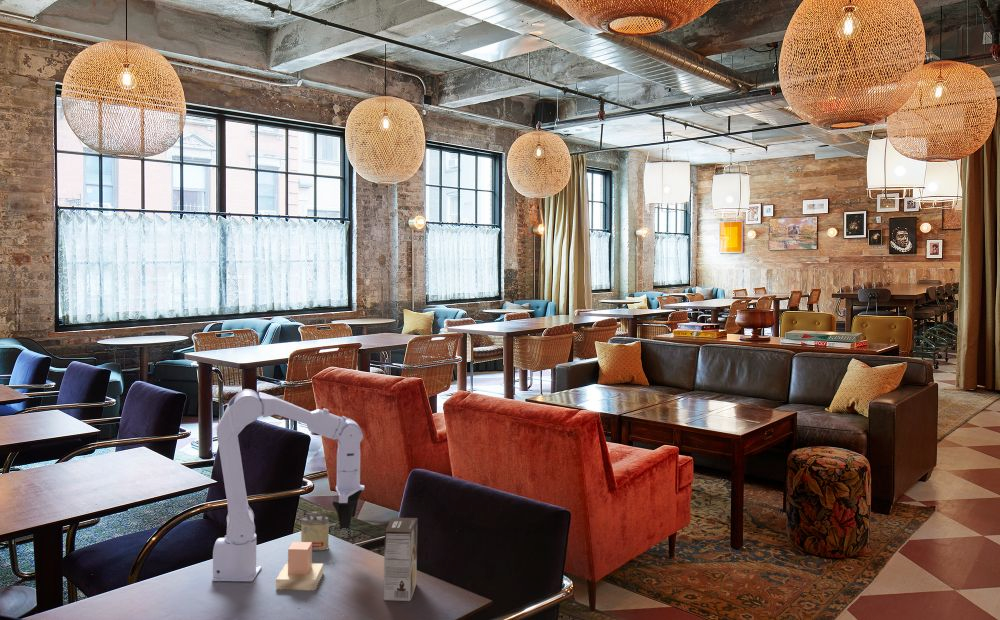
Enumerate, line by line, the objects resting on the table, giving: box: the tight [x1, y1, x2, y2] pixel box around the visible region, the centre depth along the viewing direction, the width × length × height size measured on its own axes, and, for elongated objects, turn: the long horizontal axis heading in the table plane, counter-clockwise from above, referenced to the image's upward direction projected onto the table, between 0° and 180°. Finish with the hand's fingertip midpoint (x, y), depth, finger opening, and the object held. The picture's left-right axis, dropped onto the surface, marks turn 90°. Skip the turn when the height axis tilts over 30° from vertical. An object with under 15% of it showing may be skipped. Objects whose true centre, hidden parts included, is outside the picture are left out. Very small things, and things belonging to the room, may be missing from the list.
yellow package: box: [300, 509, 330, 551], centre depth 193 cm, size 7×4×10 cm, turn 97°
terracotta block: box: [287, 541, 313, 575], centre depth 173 cm, size 4×4×6 cm
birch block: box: [275, 562, 324, 591], centre depth 173 cm, size 9×9×3 cm
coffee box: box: [383, 517, 419, 602], centre depth 169 cm, size 9×6×16 cm
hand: (347, 522), depth 184 cm, fingers open, 7 cm apart
